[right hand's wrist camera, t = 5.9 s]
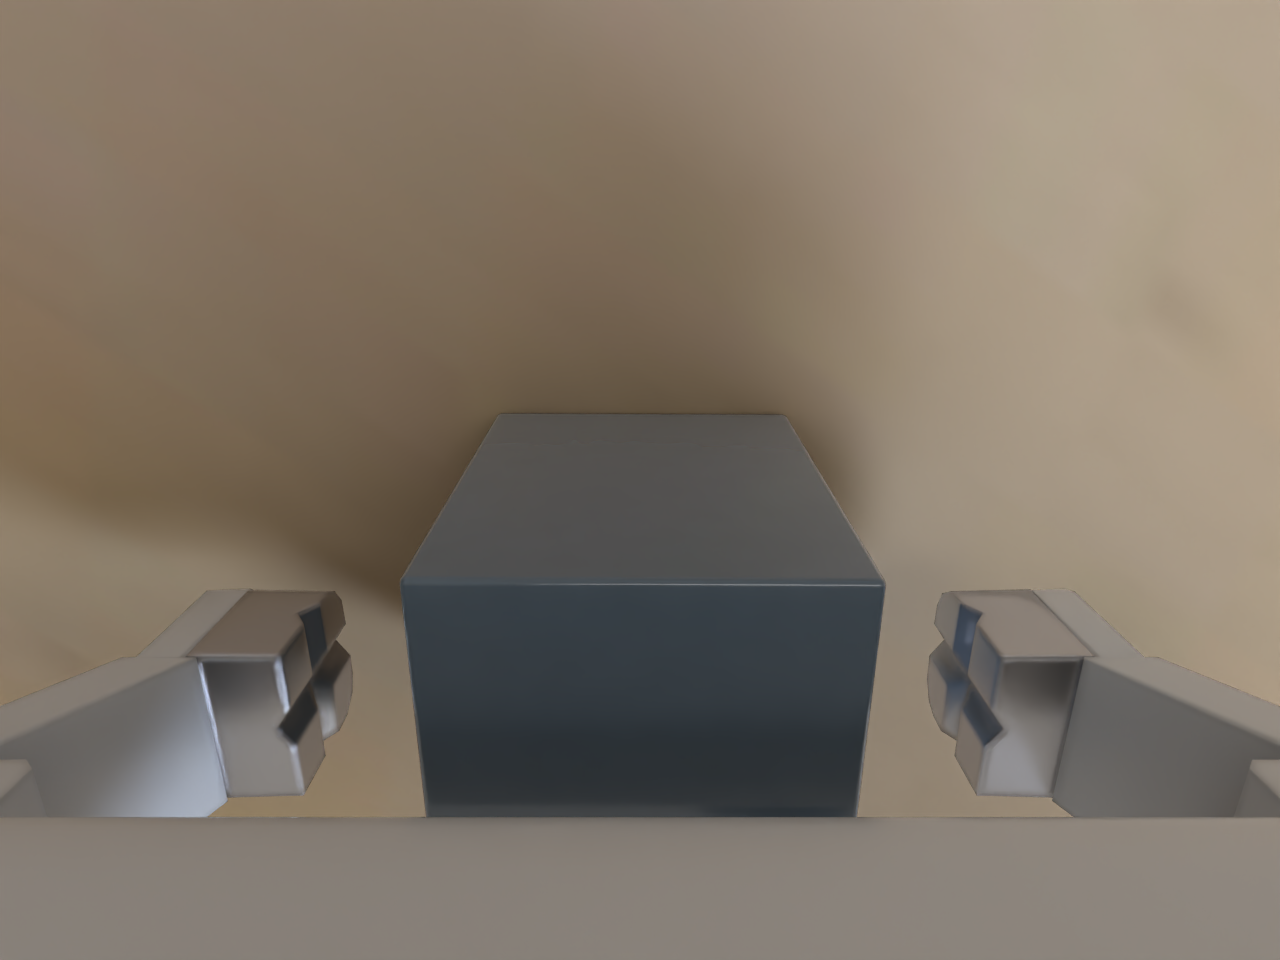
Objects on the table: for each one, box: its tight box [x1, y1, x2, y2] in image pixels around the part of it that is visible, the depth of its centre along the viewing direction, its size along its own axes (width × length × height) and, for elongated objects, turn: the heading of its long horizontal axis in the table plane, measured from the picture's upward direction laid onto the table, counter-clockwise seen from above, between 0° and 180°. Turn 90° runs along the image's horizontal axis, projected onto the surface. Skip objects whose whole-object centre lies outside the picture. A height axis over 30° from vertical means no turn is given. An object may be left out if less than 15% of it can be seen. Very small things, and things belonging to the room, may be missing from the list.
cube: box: [399, 414, 886, 817], centre depth 10 cm, size 4×4×5 cm
